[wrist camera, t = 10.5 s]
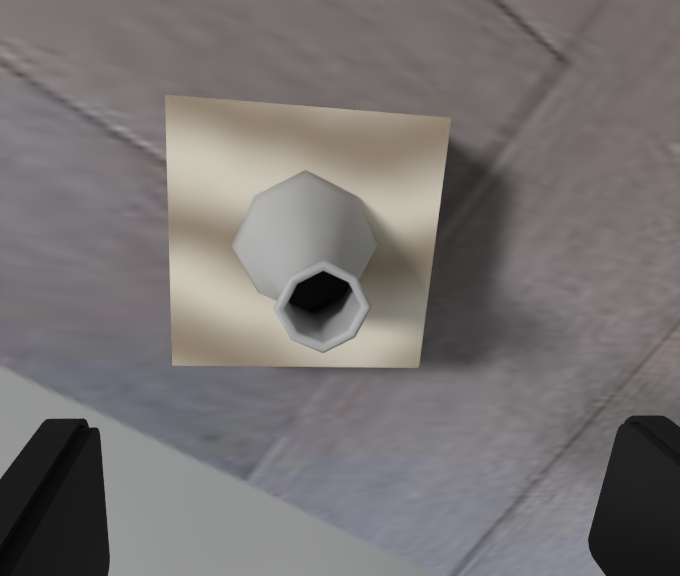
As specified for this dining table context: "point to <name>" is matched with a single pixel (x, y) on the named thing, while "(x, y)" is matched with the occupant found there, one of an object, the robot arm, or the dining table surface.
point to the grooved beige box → (269, 170)
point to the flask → (309, 258)
